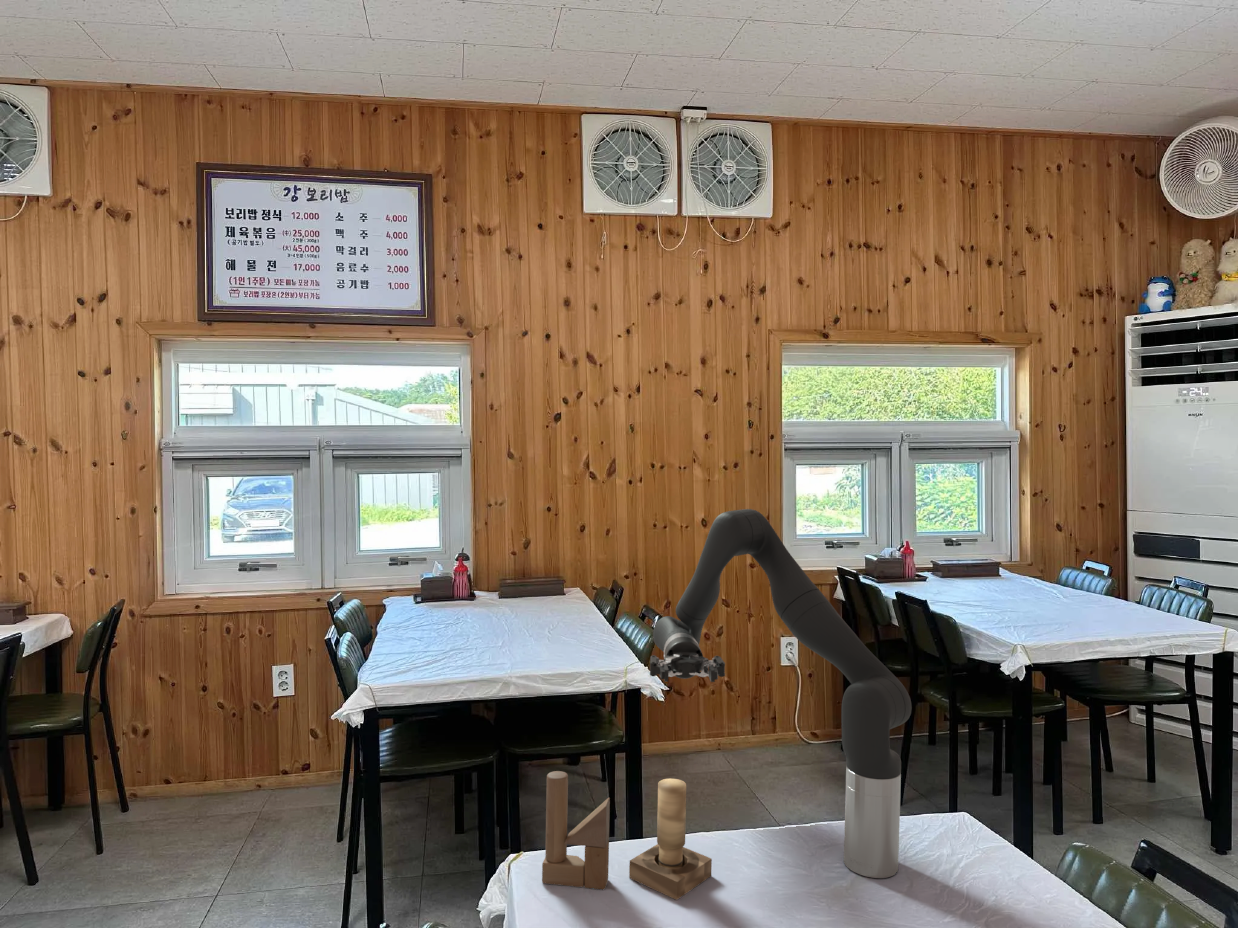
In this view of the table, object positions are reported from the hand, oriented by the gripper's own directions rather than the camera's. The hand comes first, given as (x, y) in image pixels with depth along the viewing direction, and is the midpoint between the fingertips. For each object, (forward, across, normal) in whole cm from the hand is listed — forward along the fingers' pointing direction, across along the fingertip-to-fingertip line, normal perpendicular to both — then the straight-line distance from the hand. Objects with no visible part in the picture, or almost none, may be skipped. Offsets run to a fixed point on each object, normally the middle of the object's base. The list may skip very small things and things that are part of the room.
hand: (689, 676), depth 151 cm
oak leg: (+11, -4, +31) cm, 33 cm away
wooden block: (+13, -20, +31) cm, 40 cm away
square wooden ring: (+11, -4, +31) cm, 33 cm away
